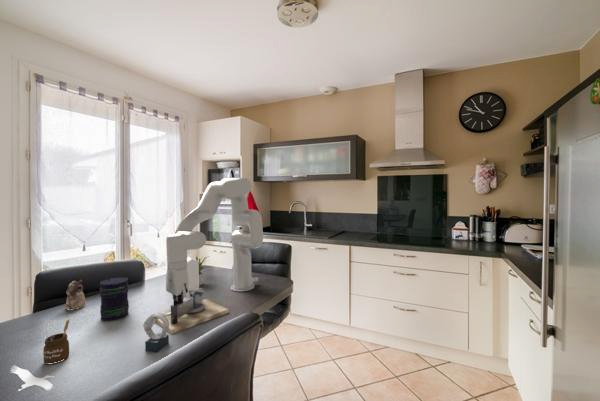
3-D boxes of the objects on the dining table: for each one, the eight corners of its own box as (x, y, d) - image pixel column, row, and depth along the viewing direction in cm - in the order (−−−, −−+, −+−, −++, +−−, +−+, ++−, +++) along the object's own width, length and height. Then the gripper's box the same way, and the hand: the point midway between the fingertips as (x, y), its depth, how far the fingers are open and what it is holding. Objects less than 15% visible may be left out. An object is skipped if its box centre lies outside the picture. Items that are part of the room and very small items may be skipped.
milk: (186, 304, 128) (185, 256, 127) (182, 300, 132) (181, 254, 132) (199, 301, 131) (198, 254, 130) (195, 297, 136) (194, 252, 135)
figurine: (63, 307, 124) (63, 281, 124) (83, 302, 129) (83, 277, 129) (66, 312, 119) (65, 284, 119) (86, 307, 125) (86, 280, 124)
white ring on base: (153, 341, 95) (152, 309, 95) (173, 344, 93) (172, 312, 93) (140, 350, 90) (139, 316, 90) (161, 353, 88) (160, 319, 88)
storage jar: (134, 312, 118) (133, 278, 118) (112, 323, 109) (111, 285, 109) (117, 309, 122) (116, 276, 121) (94, 319, 112) (93, 282, 112)
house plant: (201, 278, 167) (201, 251, 166) (216, 282, 159) (216, 254, 158) (179, 284, 155) (179, 255, 155) (194, 289, 147) (193, 259, 147)
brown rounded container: (51, 355, 87) (50, 317, 87) (74, 352, 89) (73, 315, 88) (38, 366, 81) (37, 326, 81) (63, 363, 83) (62, 324, 83)
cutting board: (206, 301, 130) (206, 296, 130) (228, 312, 118) (228, 307, 118) (151, 319, 112) (151, 313, 112) (171, 334, 100) (171, 327, 100)
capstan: (194, 304, 123) (194, 287, 122) (209, 306, 120) (209, 289, 120) (163, 322, 106) (163, 302, 105) (180, 325, 103) (180, 304, 103)
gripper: (159, 263, 113) (160, 307, 114) (177, 269, 104) (179, 317, 105) (177, 260, 119) (178, 302, 120) (196, 265, 110) (197, 311, 111)
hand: (178, 309), depth 112 cm, fingers closed
